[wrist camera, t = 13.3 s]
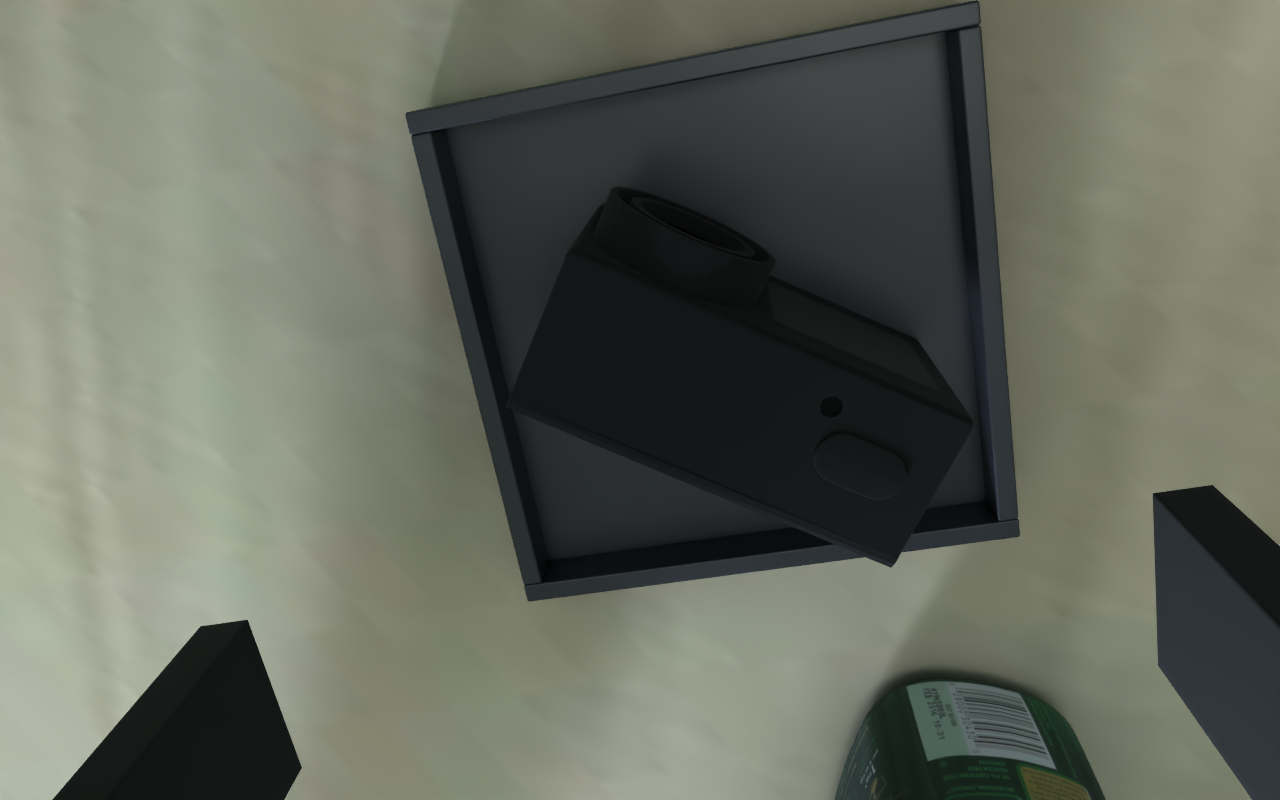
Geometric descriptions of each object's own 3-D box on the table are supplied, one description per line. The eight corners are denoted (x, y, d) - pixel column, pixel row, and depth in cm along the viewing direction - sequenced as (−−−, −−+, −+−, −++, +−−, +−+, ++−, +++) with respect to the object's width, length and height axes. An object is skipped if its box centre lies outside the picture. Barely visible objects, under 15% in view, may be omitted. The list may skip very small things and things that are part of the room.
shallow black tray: (424, 108, 30) (404, 113, 28) (960, 2, 28) (979, -1, 26) (538, 570, 34) (527, 602, 32) (1001, 507, 32) (1020, 537, 30)
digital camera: (943, 306, 30) (1009, 380, 23) (858, 462, 32) (896, 572, 25) (616, 162, 29) (587, 197, 22) (547, 330, 31) (502, 409, 24)
